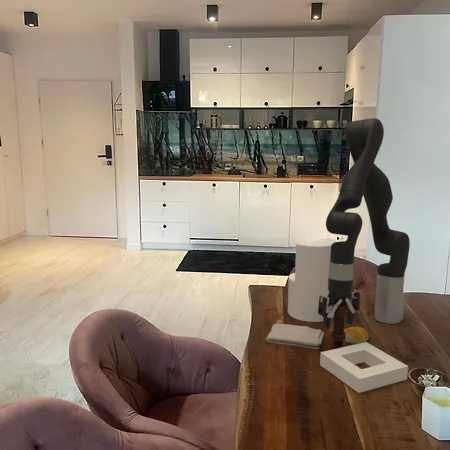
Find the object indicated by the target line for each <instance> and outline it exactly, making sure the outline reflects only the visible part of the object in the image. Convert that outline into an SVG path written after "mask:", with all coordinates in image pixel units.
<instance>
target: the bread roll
mask: <svg viewBox="0 0 450 450" xmlns="http://www.w3.org/2000/svg"><path fill="white" fill-rule="evenodd" d="M344 332H345V333H346V339H345V340H344V341H343V342H346V343H348V344H354V345H355V344H359V343H364V342H367V341H368V340H369V333H368V332H367V330H366V329H365V328H363V327H361V326H350V327H348V328H344Z"/></svg>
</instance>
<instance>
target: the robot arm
mask: <svg viewBox="0 0 450 450" xmlns="http://www.w3.org/2000/svg"><path fill="white" fill-rule="evenodd" d="M384 134H385V129H384V125H383V123H382V121H381V120H380V119H379V118H376V117H375V118H366V119H365V118H364V119H359V120H352V121H349V122H347V123H346V125H345V128H344V135H345V142H346V145H347V147H348V151H349V153H350V156H351V158H352V161H353V165H352V166H351V167H350V168H349V170H348V171H347V172H346V173H345V175H344V177H343V179H342V182H341V185H340V188H339V194H338V196H337V199H336V201H335V203H334V204H333V206H332V208H331V210H330V211H329V212H328V215H327V217H326V221H325V227H326V231H327V232H328V233H330V234H332V235H339V236H340V235H341V236H347V237H346V240H343V241H337V242H334V243H333V244H332V245H331V255H330V265H329V276H328V291H329V294H328V296H325V297H324V296H320V297H319V305H318V314H319V315H321V316H323V321H322V325H323V327H324V328H325V329H326V330H328V329H329V330H330V329H331V321H332V320H331V319H332V318H330V316H331V315H332V313H333V312H335V310H336V309H337V307H338V306H339V305H345V304H347V305H348V311H346V312H345V315H346V316H345V322H346V324H347V325H352V324H353V323H354V315H355V313H356V311H360V306H361V305H360V304H361V303H360V302H361V293H360V292H359V291H356V290H354V276H355V266H354V265H355V264H354V261H355V250H356V245H357V242H358V238H359V236H360V232H361V230H362V228H363V218H362V216H361V215H360V214H359V213H356V212H353V211H352V212H351V211H349V212H348V210H353V209H356V208H359V207H360V206H361V204H362V200H363V198H364V202H365V205H366V208H367V213H368V215H369V217H368V218H369V221H370V226H371V234H372V237H373V238H372V239H373V243H374V248H375V250H376V251H377V252H379V253H380V254H381V255H382V254H383V255H385V256H390V257H389V261H388V262H386V263H385V262H384V263H380V264H379V265H378V266H377V275H376V290H375V291H376V292H375V303H374V319H375V320H376V321H378V322H380V323H383V324H389V325H391V324H392V325H393V324H395V325H396V324H400V323H401V321H404V311H405V299H406V298H405V297H406V295H405V293H404V286H405V272H406V270H407V266H408V263H409V262H408V261H409V253H410V247H411V243H410V242H411V240H410V237H409V235H408V234H407V233H406V232H405V231H399V230H395V229H391V228H390V226H389V223H388V222H389V221H388V219H387V216H388V213H389V211H390V208H391V205H392V202H393V198H394V197H393V191H392V187H391V183H390V180H389V178H388V176H387V175H386V174H385V173H384V171H383V170H382V169H381V168H379V167H378V166H377V164H375V162H376V158H377V156H378V153H379V151H380V149H381V147H382V144H383V140H384V136H385V135H384ZM328 301H329V302H328ZM331 305H332V306H333V307H332V308H331V307H330V306H331ZM328 311H329V312H328Z"/></svg>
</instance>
